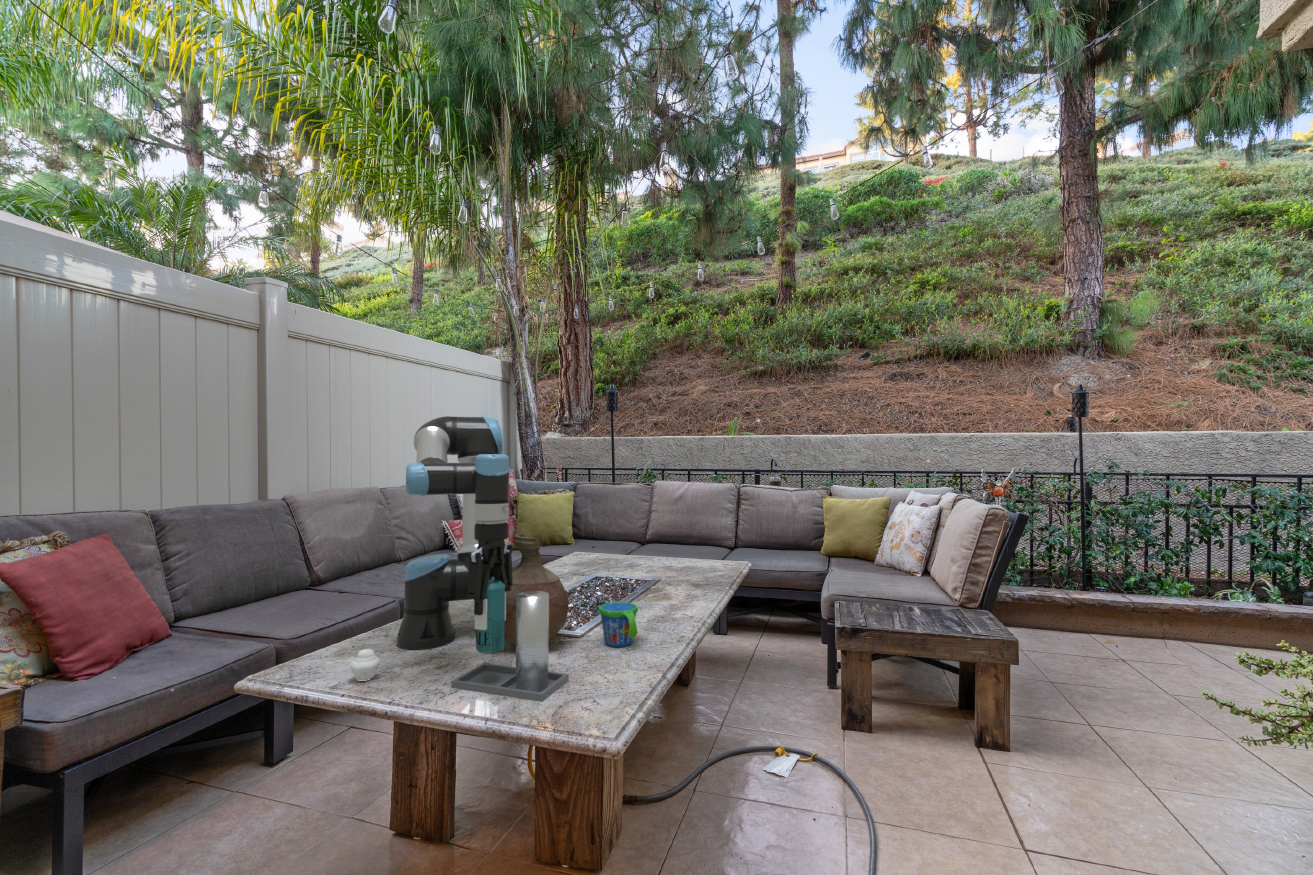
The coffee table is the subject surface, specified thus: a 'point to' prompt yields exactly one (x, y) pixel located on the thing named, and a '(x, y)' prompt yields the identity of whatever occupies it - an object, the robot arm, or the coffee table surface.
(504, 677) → the tray
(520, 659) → the canister
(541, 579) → the jug
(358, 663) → the white lidded jar
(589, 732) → the coffee table surface
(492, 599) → the beverage bottle
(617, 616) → the snack cup
